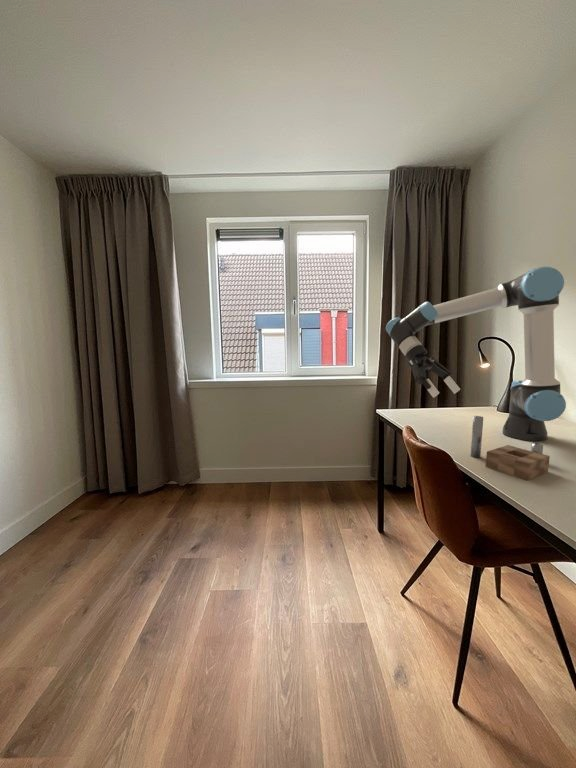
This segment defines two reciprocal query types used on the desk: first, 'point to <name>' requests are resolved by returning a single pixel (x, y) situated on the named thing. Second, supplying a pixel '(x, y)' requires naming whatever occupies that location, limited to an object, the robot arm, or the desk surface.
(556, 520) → the desk surface
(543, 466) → the block
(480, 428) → the long pin
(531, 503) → the desk surface
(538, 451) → the short pin
